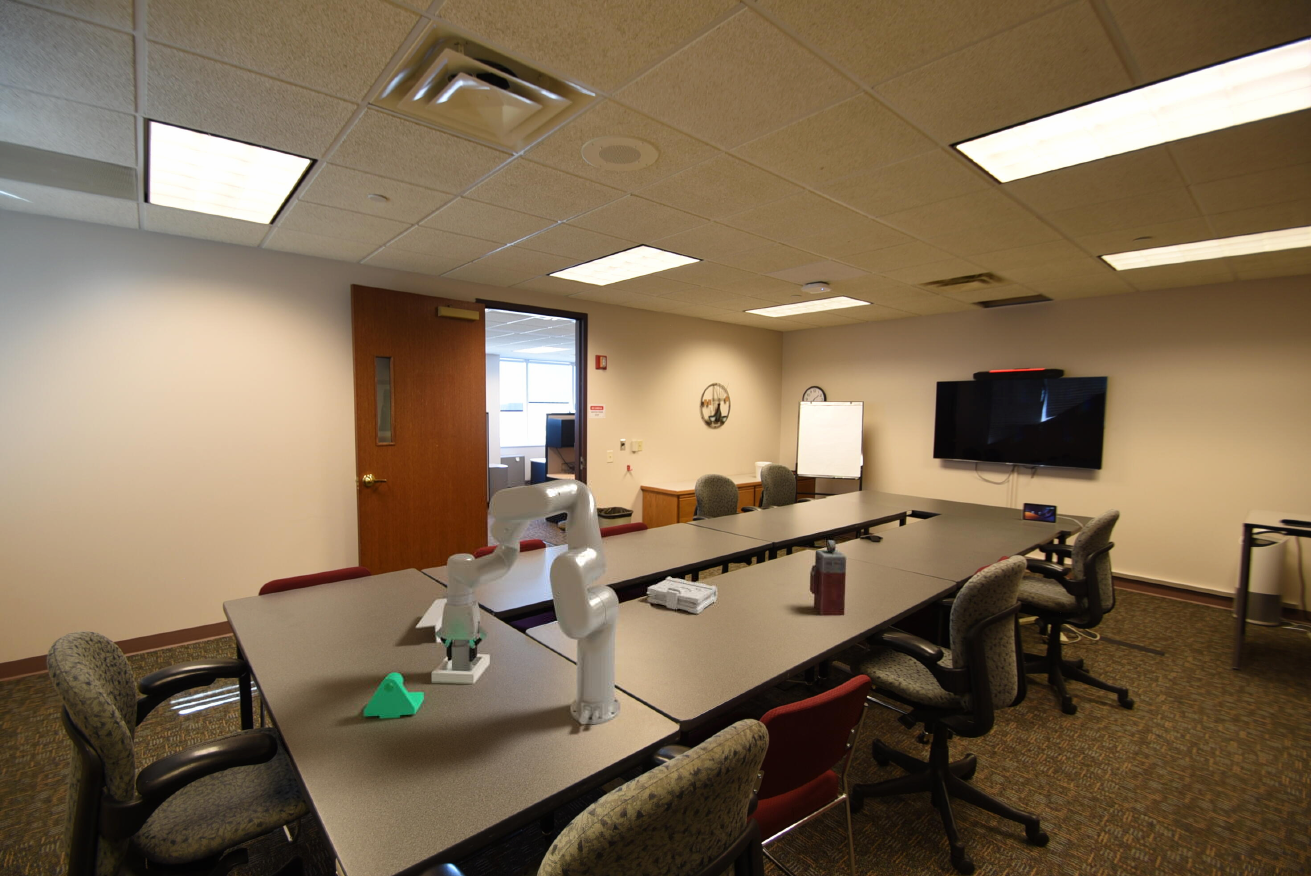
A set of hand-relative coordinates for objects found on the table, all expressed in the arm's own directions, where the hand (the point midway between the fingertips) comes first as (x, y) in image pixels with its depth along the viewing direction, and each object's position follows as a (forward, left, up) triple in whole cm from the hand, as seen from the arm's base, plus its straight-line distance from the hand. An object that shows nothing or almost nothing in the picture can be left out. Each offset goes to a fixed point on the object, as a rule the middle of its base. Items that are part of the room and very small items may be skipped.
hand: (461, 658), depth 154 cm
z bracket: (+31, +19, -5) cm, 37 cm away
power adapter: (0, 0, -3) cm, 3 cm away
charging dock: (0, 0, -4) cm, 4 cm away
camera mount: (-20, +9, -5) cm, 22 cm away
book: (+66, -61, -5) cm, 90 cm away
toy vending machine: (+58, -118, -5) cm, 132 cm away
